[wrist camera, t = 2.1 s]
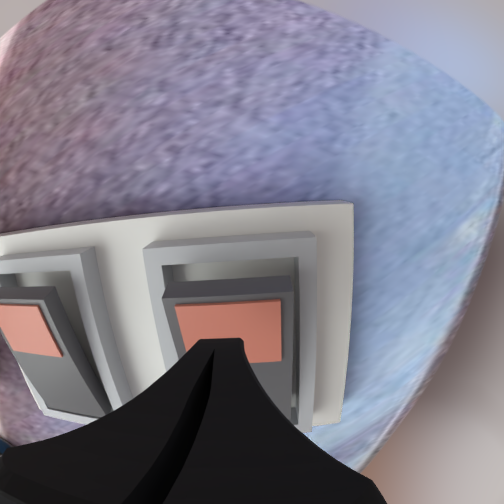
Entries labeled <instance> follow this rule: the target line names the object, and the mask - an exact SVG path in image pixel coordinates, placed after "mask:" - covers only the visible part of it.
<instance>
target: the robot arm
mask: <svg viewBox="0 0 504 504" xmlns="http://www.w3.org/2000/svg"><path fill="white" fill-rule="evenodd" d="M0 504H387V503H386V501H385V499H384V497H383V496H382V495H381V493H380V491H379V490H378V488H377V487H376V485H375V484H374V482H373V481H372V480H371V479H369V478H367V477H365V476H363V475H361V474H360V473H358V472H356V471H354V470H352V469H351V468H349V467H347V466H346V465H344V464H342V463H341V462H339V461H338V460H336V459H335V458H333V457H332V456H330V455H329V454H328V453H326V452H325V451H323V450H322V449H321V448H319V447H318V446H317V445H316V444H314V443H313V442H312V441H311V440H310V439H309V438H308V437H306V436H305V435H304V434H303V433H302V432H301V431H299V430H298V429H297V428H296V427H295V426H294V425H293V424H292V423H291V422H290V421H289V420H288V419H287V418H286V417H285V416H284V414H283V413H282V412H281V411H280V410H279V409H278V407H277V406H276V405H275V404H274V403H273V401H272V400H271V399H270V397H269V396H268V394H267V393H266V392H265V390H264V389H263V387H262V385H261V384H260V382H259V381H258V379H257V377H256V375H255V373H254V371H253V370H252V368H251V366H250V363H249V361H248V359H247V356H246V353H245V349H244V341H243V340H242V339H241V338H216V339H199V340H198V341H197V342H196V343H195V344H194V345H193V346H192V347H191V348H190V349H189V350H188V351H187V352H186V353H185V354H184V355H183V356H182V357H181V358H180V359H179V360H178V361H177V362H176V363H175V364H174V365H173V366H172V367H171V368H170V369H169V370H168V371H167V372H166V373H165V374H163V375H162V376H161V377H160V378H159V379H157V380H156V381H155V382H154V383H153V384H152V385H150V386H149V387H148V388H147V389H146V390H144V391H143V392H142V393H140V394H139V395H137V396H136V397H135V398H133V399H132V400H130V401H129V402H127V403H126V404H124V405H122V406H121V407H119V408H118V409H116V410H114V411H112V412H111V413H109V414H107V415H105V416H103V417H101V418H99V419H97V420H95V421H93V422H91V423H89V424H87V425H85V426H83V427H80V428H78V429H75V430H73V431H70V432H68V433H65V434H62V435H59V436H56V437H53V438H50V439H46V440H43V441H39V442H34V443H30V444H26V445H21V446H16V447H10V448H7V449H6V450H5V451H4V453H3V454H2V456H1V457H0Z"/></svg>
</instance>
